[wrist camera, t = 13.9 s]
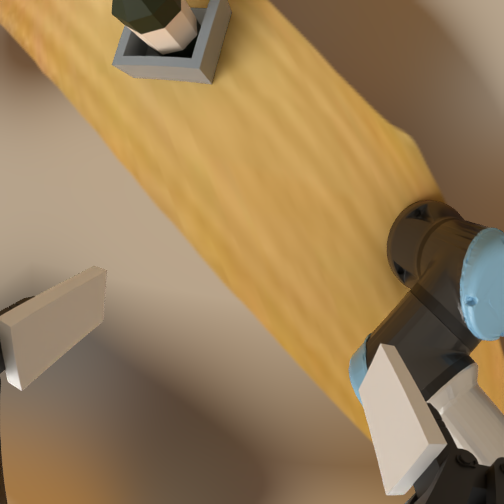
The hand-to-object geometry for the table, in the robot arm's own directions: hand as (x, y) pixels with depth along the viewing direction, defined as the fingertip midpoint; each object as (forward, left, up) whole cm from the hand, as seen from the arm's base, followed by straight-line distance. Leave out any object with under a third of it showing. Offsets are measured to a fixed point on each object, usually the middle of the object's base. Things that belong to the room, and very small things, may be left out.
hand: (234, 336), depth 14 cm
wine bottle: (+20, -27, -36) cm, 49 cm away
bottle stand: (+20, -27, -37) cm, 50 cm away
